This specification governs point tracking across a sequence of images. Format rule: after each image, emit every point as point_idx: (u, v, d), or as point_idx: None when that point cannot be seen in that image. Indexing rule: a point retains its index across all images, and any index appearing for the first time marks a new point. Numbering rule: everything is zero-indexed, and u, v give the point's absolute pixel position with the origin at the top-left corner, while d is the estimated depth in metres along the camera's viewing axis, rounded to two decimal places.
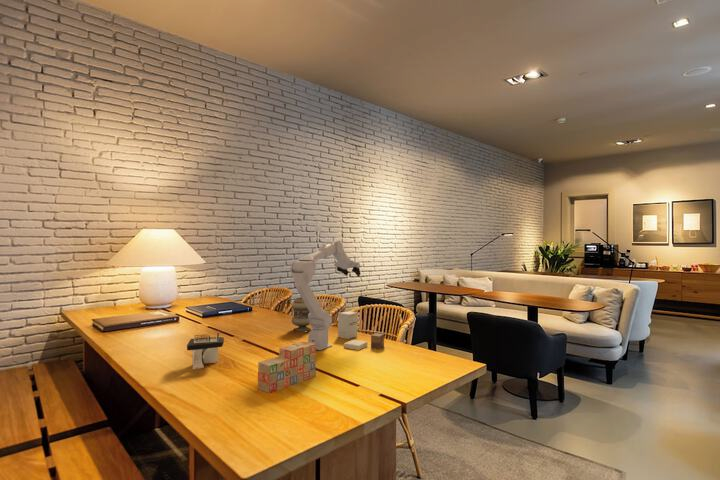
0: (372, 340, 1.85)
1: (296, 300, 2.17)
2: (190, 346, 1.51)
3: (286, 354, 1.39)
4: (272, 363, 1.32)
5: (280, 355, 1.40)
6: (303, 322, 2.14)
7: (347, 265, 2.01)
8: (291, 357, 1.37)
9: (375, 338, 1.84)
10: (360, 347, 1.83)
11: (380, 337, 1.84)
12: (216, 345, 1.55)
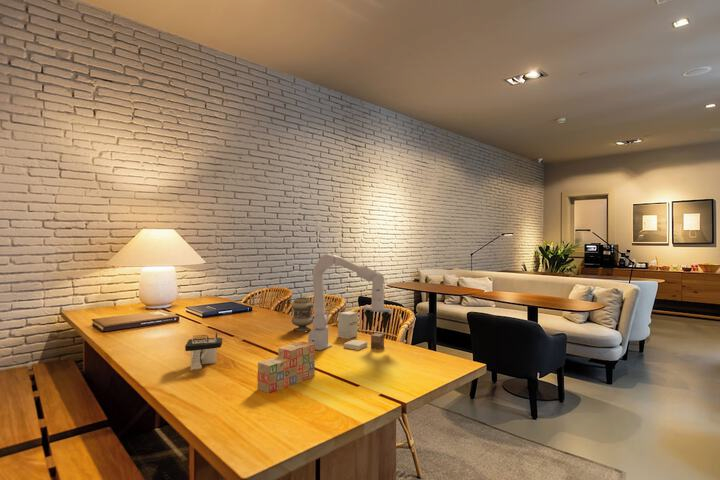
0: (372, 340, 1.85)
1: (296, 300, 2.17)
2: (188, 347, 1.51)
3: (285, 354, 1.39)
4: (272, 363, 1.32)
5: (279, 355, 1.40)
6: (303, 322, 2.14)
7: (380, 306, 1.84)
8: (291, 357, 1.37)
9: (375, 338, 1.84)
10: (360, 347, 1.83)
11: (380, 337, 1.84)
12: (214, 346, 1.55)
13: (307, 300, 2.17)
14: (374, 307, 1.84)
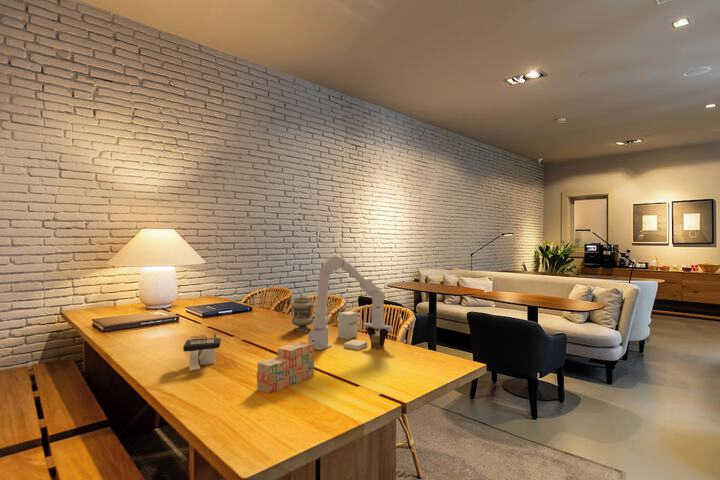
0: (372, 340, 1.85)
1: (296, 300, 2.17)
2: (186, 347, 1.50)
3: (285, 354, 1.38)
4: (272, 363, 1.32)
5: (279, 355, 1.40)
6: (303, 322, 2.14)
7: (379, 324, 1.84)
8: (290, 357, 1.37)
9: (375, 338, 1.84)
10: (360, 347, 1.83)
11: None
12: (213, 346, 1.54)
13: (307, 300, 2.17)
14: (374, 324, 1.84)
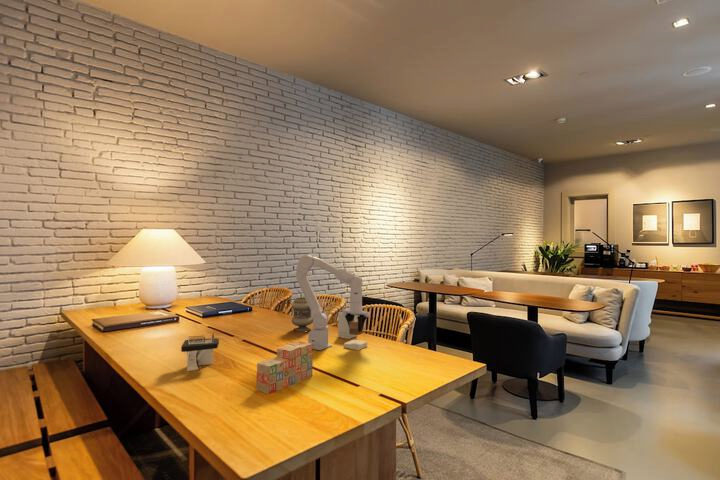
0: (350, 326, 1.86)
1: (296, 300, 2.17)
2: (184, 347, 1.49)
3: (284, 354, 1.38)
4: (271, 364, 1.32)
5: (278, 355, 1.40)
6: (303, 322, 2.14)
7: (357, 309, 1.84)
8: (290, 357, 1.37)
9: (353, 324, 1.85)
10: (360, 347, 1.83)
11: None
12: (211, 346, 1.53)
13: None
14: (352, 310, 1.85)
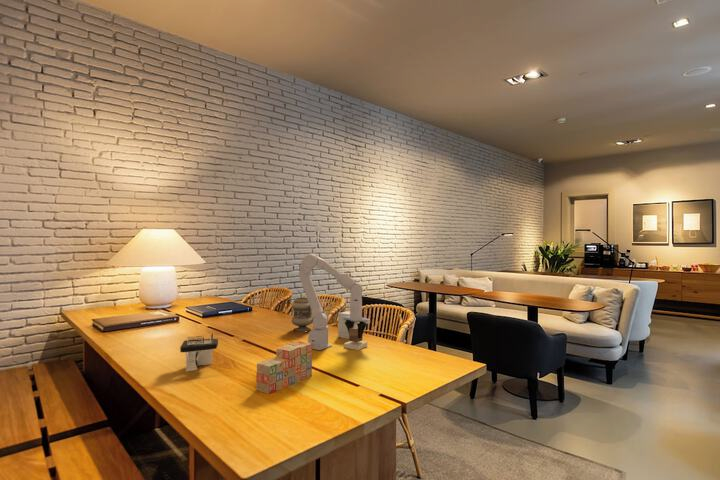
0: (350, 333, 1.86)
1: (296, 300, 2.17)
2: (183, 348, 1.49)
3: (284, 354, 1.38)
4: (271, 364, 1.32)
5: (277, 356, 1.40)
6: (303, 322, 2.14)
7: (357, 316, 1.84)
8: (289, 357, 1.37)
9: (353, 331, 1.85)
10: (360, 347, 1.83)
11: None
12: (210, 347, 1.53)
13: (307, 300, 2.17)
14: (352, 317, 1.85)
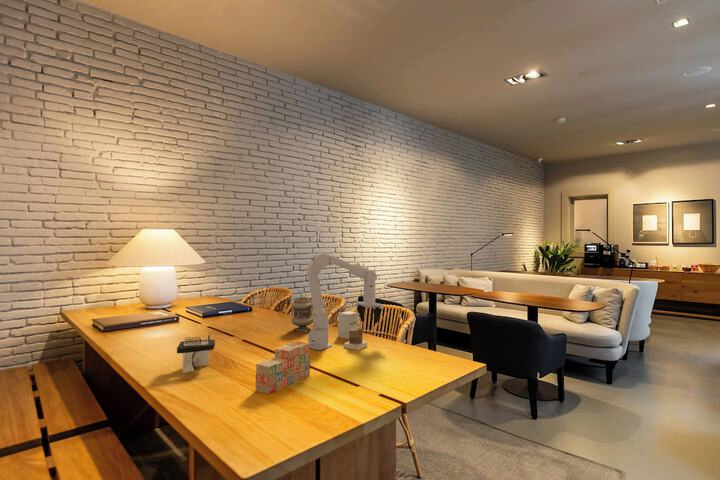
0: (350, 335, 1.86)
1: (296, 300, 2.17)
2: (180, 349, 1.47)
3: (283, 354, 1.38)
4: (271, 364, 1.31)
5: (276, 356, 1.39)
6: (303, 322, 2.14)
7: (371, 302, 1.91)
8: (288, 357, 1.37)
9: (353, 333, 1.85)
10: (360, 347, 1.83)
11: (358, 332, 1.85)
12: (207, 348, 1.51)
13: (307, 300, 2.17)
14: (366, 302, 1.91)
